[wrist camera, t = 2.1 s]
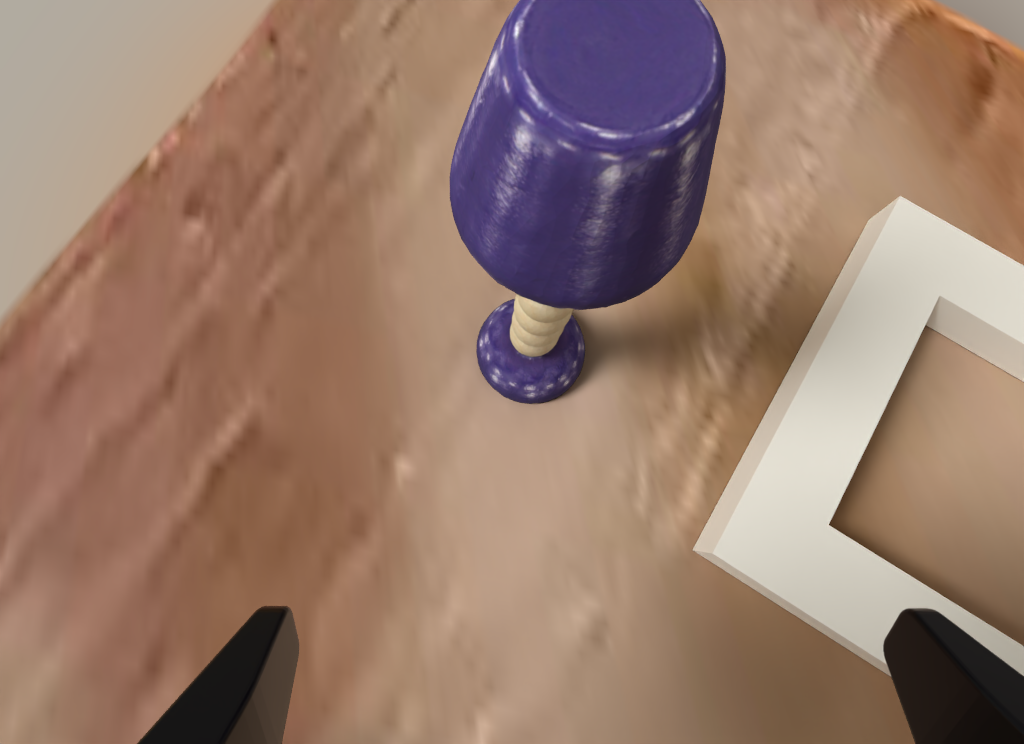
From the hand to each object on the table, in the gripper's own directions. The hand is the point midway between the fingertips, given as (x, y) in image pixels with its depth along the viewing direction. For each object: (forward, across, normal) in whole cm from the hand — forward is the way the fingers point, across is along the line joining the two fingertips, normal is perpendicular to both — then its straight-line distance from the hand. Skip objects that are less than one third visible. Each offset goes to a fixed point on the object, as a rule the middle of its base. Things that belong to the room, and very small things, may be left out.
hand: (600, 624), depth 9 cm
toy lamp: (+15, 0, +4) cm, 16 cm away
